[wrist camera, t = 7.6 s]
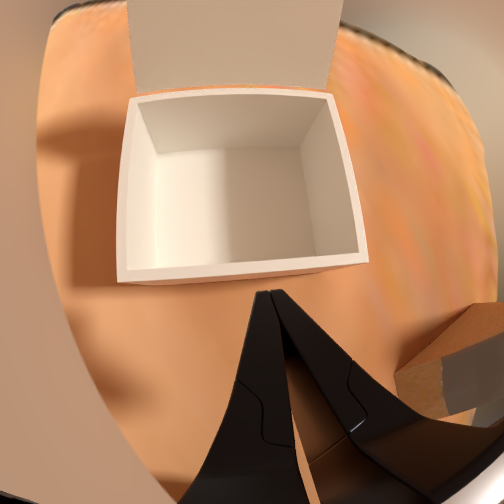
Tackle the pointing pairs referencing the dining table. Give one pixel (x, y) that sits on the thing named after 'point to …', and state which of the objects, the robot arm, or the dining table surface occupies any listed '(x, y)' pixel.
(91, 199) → the dining table surface
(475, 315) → the sandwich container
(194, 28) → the carton flap
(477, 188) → the dining table surface
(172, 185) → the carton
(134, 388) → the dining table surface
